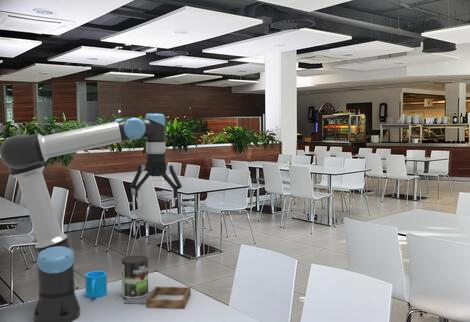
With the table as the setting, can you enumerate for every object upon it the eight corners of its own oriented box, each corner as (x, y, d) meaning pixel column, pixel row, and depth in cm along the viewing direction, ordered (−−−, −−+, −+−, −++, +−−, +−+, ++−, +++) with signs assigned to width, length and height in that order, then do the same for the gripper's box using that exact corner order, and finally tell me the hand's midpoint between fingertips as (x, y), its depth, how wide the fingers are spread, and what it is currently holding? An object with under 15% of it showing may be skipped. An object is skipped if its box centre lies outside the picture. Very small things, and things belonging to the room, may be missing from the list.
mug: (87, 291, 185) (87, 271, 184) (108, 290, 186) (108, 270, 185) (81, 302, 173) (81, 281, 172) (103, 301, 174) (103, 280, 173)
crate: (146, 307, 168) (146, 299, 168) (155, 293, 182) (155, 286, 182) (184, 308, 167) (184, 300, 167) (190, 294, 181) (190, 287, 181)
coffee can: (153, 293, 180) (153, 258, 179) (131, 300, 173) (131, 264, 172) (138, 287, 188) (138, 253, 186) (116, 294, 180) (116, 258, 179)
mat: (123, 303, 172) (123, 302, 172) (133, 292, 184) (132, 290, 183) (147, 304, 171) (147, 303, 171) (155, 292, 183) (155, 291, 183)
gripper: (188, 152, 184) (189, 204, 185) (127, 152, 185) (128, 204, 187) (185, 153, 176) (185, 208, 178) (121, 153, 178) (122, 207, 179)
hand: (156, 206), depth 182 cm, fingers open, 13 cm apart
